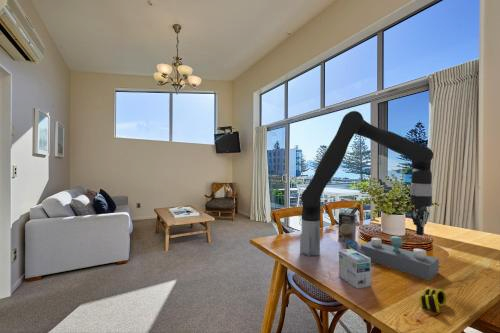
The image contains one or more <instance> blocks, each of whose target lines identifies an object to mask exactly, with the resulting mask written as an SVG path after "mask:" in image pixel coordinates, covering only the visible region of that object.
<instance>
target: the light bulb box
mask: <svg viewBox="0 0 500 333" xmlns="http://www.w3.org/2000/svg"><path fill="white" fill-rule="evenodd" d="M338 276H339V277H340V278H341V279H343V280H344V281H346V282H347V283H349V284H350V285H351V286H353V287H354V288H355V289H362V288H367V287H372V261H371V258H370V257H367V256H365V255H363V254H361V253H359V252H357V251H355V250H353V249H346V248H345V249H339V250H338Z"/></svg>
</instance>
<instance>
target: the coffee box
mask: <svg viewBox="0 0 500 333" xmlns="http://www.w3.org/2000/svg"><path fill="white" fill-rule="evenodd" d="M356 227H357V214H356V213H348V212H342V211H341V212H339V213H338V232H337V233H338V239H337V240H338V242H345V243H346V238H348V239H349V240H351V241H353V242H355V243H356V241H357V240H356V238H357V237H356V235H357V232H356V231H357V230H356V229H357V228H356Z"/></svg>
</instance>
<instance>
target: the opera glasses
mask: <svg viewBox="0 0 500 333" xmlns="http://www.w3.org/2000/svg"><path fill="white" fill-rule="evenodd" d="M418 299H419V304H420V307H421V308H426V309H428V310H430V311H431V310H433V311H435V312H436V313H440V307H443V306H445V304H446V303H447V294H446V292H445V291H444V290H443V289H440V288H438V289H433V288H432V289H430V288H425V289H424V290H423V295H422V294H419V298H418Z"/></svg>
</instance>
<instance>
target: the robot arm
mask: <svg viewBox="0 0 500 333" xmlns="http://www.w3.org/2000/svg"><path fill="white" fill-rule="evenodd" d="M364 119H365V118H364V117H363V115H362V113H360V112H359V111H357V110H351V111H349V112H346V113H345V115H344V116H343V117H342V120H341V122H340V124H339V126H338V129H337V131H336V134H335V135H334V137H333V139H332V140H331V142H330V144H329V145H328V146H327V149H326V151H325V152H324V154H323V156H322V157H321V159H320V160H319V163H318V165H317V167H316V169H315V172H314V174H313V177H312V178H311V181H310V182H309V183H308V185H307V186H306V188H305V189H304V190H303V191H302V192H301V195H300V199H301V200H300V201H301V203H302V207H301V209H302V210H301V234H299V236H300V237H299V240H300V241H299V253H301V254H302V255H305V256H308V257H316V256H319V255H320V253H321V252H320V250H321V202H322V200H321V197H322V195H323V193H324V190H325V188H326V186H327V185H328V183H329V182H330V181H331V180H332V178H333V177H334V176H335V174H336V173H337V171H338V170H339V168H340V166H341V164H343V161H344V159H345V156H346V153H347V150H348V147H349V145H350V142H351V141H352V139H353V137H354V136H355V135H358V136H361V137H364V138H366V139H369V140H370V141H373V142H375V143H377V144H379V145H381V146H383V147H385V148H386V149H389V150H390V151H393V152H395V153H397V154H400V155H403V156H405V157H406V158H408V159H410V160H411V169H412V170H411V175H410V176H411V178H410V179H411V180H410V181H411V182H410V188H409V190H410V191H409V192H410V195H409V204H410V205H412V206H414V208H413V211H412V214H410V216H411V219H412V220H411V221H412V224H413V225H414V226H416V227H415V229H416V230H415V232H416V233H415V235H418V236H422V237H423V236H424V233H425V232H424V230H425V225H426V224H427V223H428V219H429V216H430V211H428V209H427V208H428V207H432V206H433V186H432V185H433V184H432V182H433V181H432V180H433V175H432V174H433V172H432V168H431V167H432V160H433V158H434V152H433V150H432V149H431V148H430V147H428V146H425V145H423V144H420V143H418V142H415V141H412V140H410V139H408V138H406V137H404V136H402V135H400V134H397V133H395V132H393V131H389V130H386V129H383V128H379V127H377V126H375V125H373V124H372V123H369V122H367V121H366V120H364Z"/></svg>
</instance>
